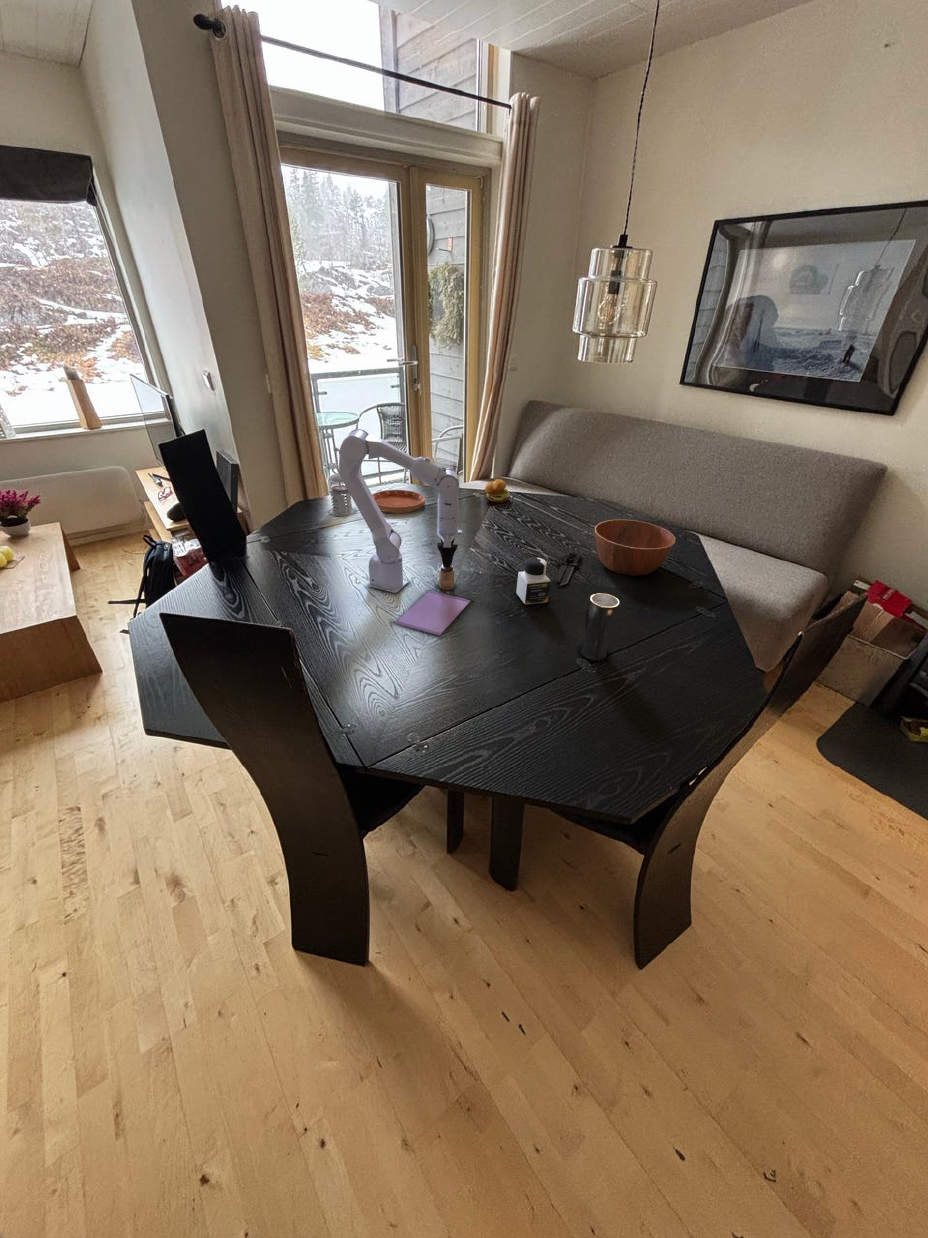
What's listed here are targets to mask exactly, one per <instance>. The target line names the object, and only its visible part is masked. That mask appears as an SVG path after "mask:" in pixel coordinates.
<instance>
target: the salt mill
mask: <svg viewBox="0 0 928 1238" xmlns="http://www.w3.org/2000/svg"><path fill="white" fill-rule="evenodd" d="M438 572H439V573H438V575H439V577H438V586H439V589H441V590H445V591H449V590H450V591H451V590H453V589H454V588H455V568H454V565H453V564H451V567H443V563H442V564H440V566H439V571H438Z"/></svg>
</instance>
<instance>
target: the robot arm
mask: <svg viewBox="0 0 928 1238" xmlns="http://www.w3.org/2000/svg"><path fill="white" fill-rule="evenodd" d="M338 449H339V451H338V456H339V457H338V469H339V475H340V477H341V479H342V480H343V481H342V482H343V485H345V486H346V488H347V489H348V491H349V493H350V495H351V499H352V500H353V502H354V504H355V506H356V507H357V510H358V511H359V513H360V514H361V516H362V518H363V520H364V522H365V523H366V525H367V527H368V529H369V531H370V532H371V537H372V543H373V545H374V547H375V553H374V554H372V555H371V557H370V559H369V561H368V578H369V580H368V581H369V583H368V584H367V585H368V587H370V588H374V589H377V590H381V591H385V592H389V593H392V594H396V593H398V592H399V591H401V590H402V589H403V588H404V587H405V586H407V585H408V584H409V583H410V582H409V580H408V579H404V571H403V554H402V553H401V551H400V548H401V545H402V542H403V541H402V537H401V535H400V534H399V533H398V531H395V529H394V528H393V527H392V525H391V524H390V523H388V522H387V520H386V518H385V516H384V514H383V511H381V510H380V509H379V507H378V505H377V503H376V501H375V499H374V497H373V496H372V494H373V493H372V492H371V489H370V488H369V486H368V485H367V483H366V481H365V479H364V477H363V475H362V473H361V471H360V470H361V468H362V465H363V462H364V460H365V458H366V456H367V455H368V457H367V459H368V460H373V459H378V458H382V459H384V460H387V461H389V462H391V463H393V464H394V465H395V464H396V465H397V466H400V467H402V468H404V469H406V470H408V471H409V472H410V476H411V477H412V478H413V479H415V480H418V481H419V482H421V483H424V484H426V485H427V486H429V487H431V488H434V489H436V490H437V492H438V498H437V521H436V522H437V525H436V526H437V528H436V535H437V536H438V537H439V540H440V542H436V543H437V544H436V547H437V550H438V551H439V554H440V557H441V562H442V564H443V567H451V565H453V560H454V556H455V553H456V551H457V549H458V547H459V545H458V544H456V543H455V540H456V538H457V536H462V534H463V530H462V529H459V492H460V489H461V485H460V478H459V476H458V473H457V472H456V471H455V470H453V468H447V467H446V466H445V465H444V466H440V465H439V464H437V463H435V462H434V461H431V458H430V457H429V456H425V457H423V456H419V457H413V456H412V455H409V454H408V453H406V452H405V451H403V450H401V449H399V448H397V447H396V446H394V445H393V444H392V443H390V442H388V441H386V440H384V439H382V438H380V437H379V436H377V435H375V434H374V433H372V432H370V433H369V432H368V431H366V430H365V429H363V428H355V429H353V430H351V431H350V432H349V434H347V436H346V437H345V438H344V439H343V441H342V442H341V445H340V446H339V448H338ZM454 543H455V544H454Z"/></svg>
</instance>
